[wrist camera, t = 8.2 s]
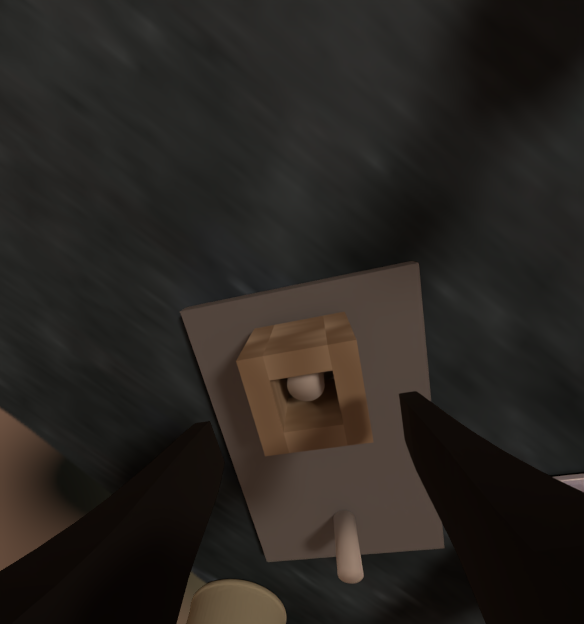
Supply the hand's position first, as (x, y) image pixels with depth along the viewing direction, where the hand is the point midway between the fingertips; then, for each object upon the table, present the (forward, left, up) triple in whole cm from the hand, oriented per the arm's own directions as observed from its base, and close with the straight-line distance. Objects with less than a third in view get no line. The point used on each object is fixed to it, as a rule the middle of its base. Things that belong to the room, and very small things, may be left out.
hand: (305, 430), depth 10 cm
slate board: (0, +7, -8) cm, 10 cm away
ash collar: (0, 0, -6) cm, 6 cm away
